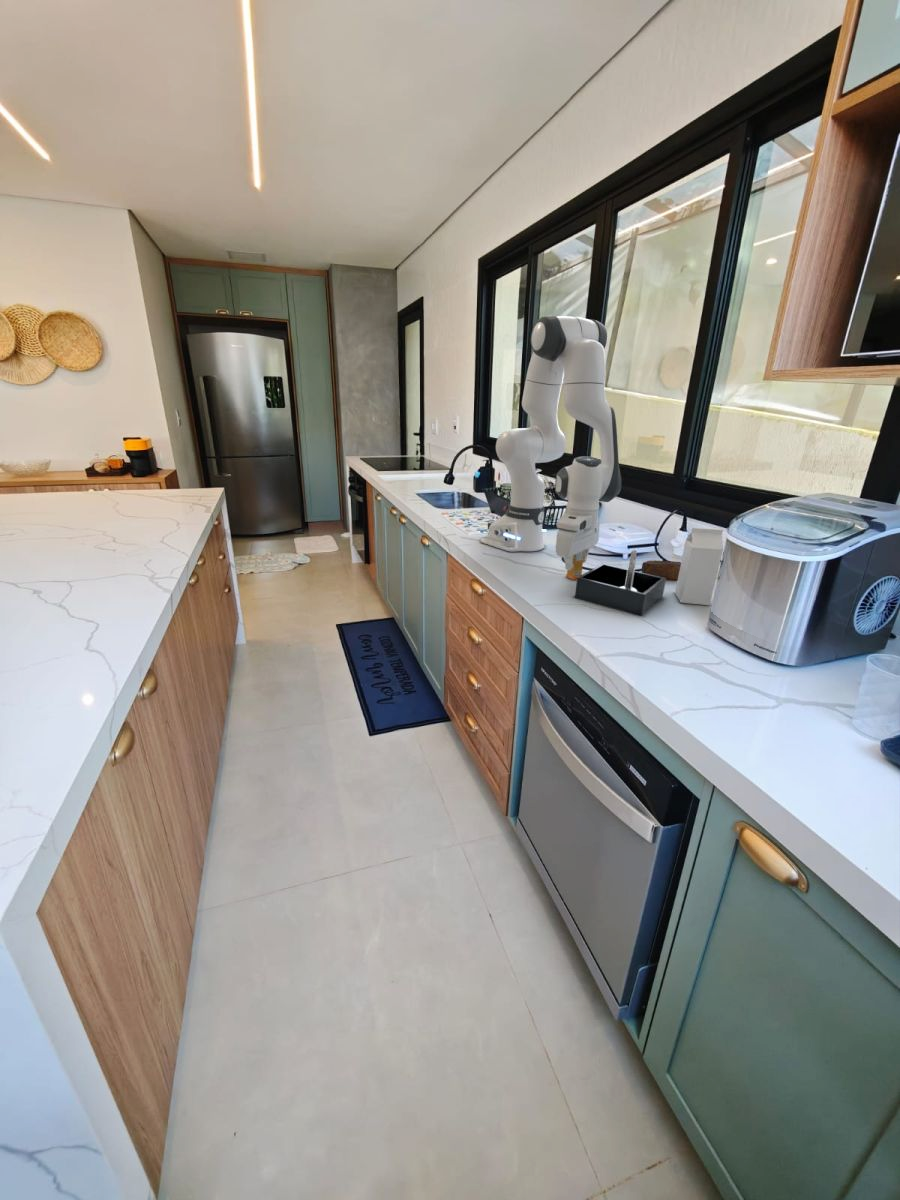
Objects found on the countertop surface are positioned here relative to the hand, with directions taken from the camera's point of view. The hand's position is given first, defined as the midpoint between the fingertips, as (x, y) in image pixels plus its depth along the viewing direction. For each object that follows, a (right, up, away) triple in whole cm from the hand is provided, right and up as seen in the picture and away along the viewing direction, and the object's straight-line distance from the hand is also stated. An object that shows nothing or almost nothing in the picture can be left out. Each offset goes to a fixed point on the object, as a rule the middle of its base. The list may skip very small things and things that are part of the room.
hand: (575, 565), depth 144 cm
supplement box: (0, -4, +2) cm, 4 cm away
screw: (+10, -9, -13) cm, 19 cm away
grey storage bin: (+8, -9, -12) cm, 17 cm away
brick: (+26, -3, +4) cm, 26 cm away
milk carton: (+28, -10, -12) cm, 32 cm away
